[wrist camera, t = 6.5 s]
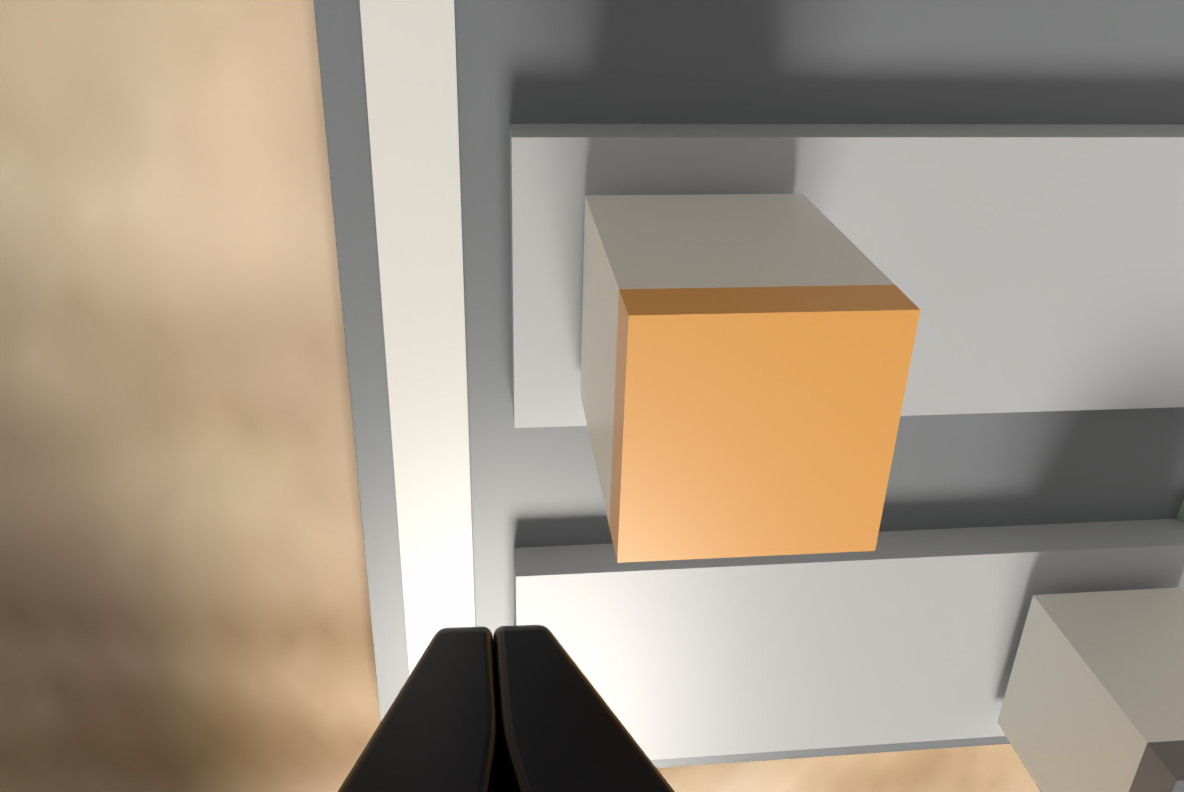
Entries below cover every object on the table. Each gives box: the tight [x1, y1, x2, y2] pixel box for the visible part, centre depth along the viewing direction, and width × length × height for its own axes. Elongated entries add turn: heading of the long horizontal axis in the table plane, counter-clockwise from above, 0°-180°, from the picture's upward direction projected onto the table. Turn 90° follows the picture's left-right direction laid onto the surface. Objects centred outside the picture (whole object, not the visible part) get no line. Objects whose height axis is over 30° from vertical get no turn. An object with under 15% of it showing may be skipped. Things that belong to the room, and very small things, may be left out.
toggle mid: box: [580, 194, 920, 563], centre depth 13 cm, size 3×3×4 cm
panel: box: [314, 0, 1184, 768], centre depth 16 cm, size 21×16×2 cm
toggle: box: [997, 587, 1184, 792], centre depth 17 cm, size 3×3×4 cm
